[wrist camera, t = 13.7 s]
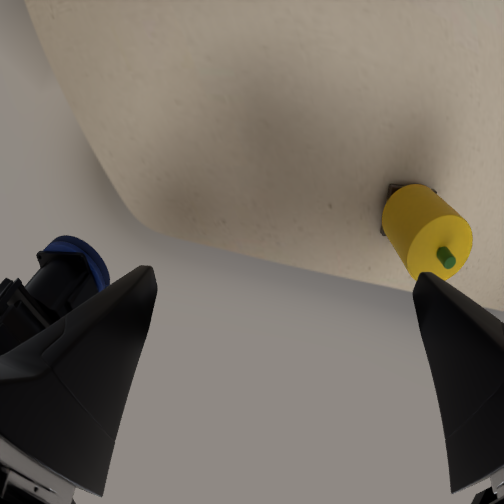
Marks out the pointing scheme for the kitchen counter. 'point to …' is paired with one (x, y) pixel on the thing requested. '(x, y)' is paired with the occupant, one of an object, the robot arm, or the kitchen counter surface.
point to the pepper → (426, 232)
